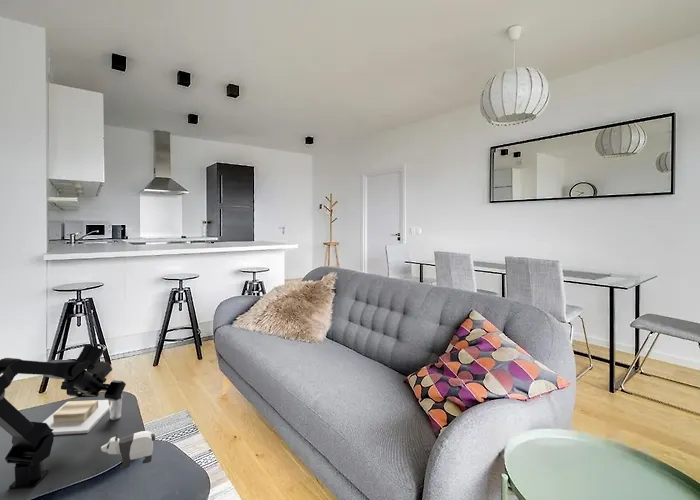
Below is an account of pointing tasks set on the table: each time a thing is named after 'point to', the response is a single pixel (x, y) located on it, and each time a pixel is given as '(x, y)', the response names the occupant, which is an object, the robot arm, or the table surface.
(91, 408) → the plinth
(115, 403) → the milkshake
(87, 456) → the table surface
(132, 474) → the table surface
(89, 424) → the baseplate
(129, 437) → the giant panda
